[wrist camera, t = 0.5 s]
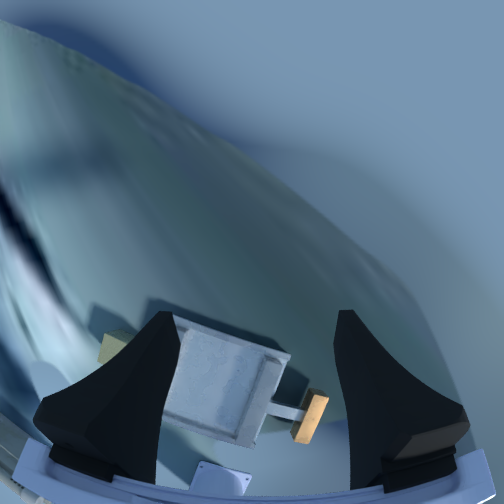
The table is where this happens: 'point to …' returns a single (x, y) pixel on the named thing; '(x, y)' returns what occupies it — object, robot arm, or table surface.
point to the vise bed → (214, 380)
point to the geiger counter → (14, 459)
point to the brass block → (113, 344)
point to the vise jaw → (278, 407)
